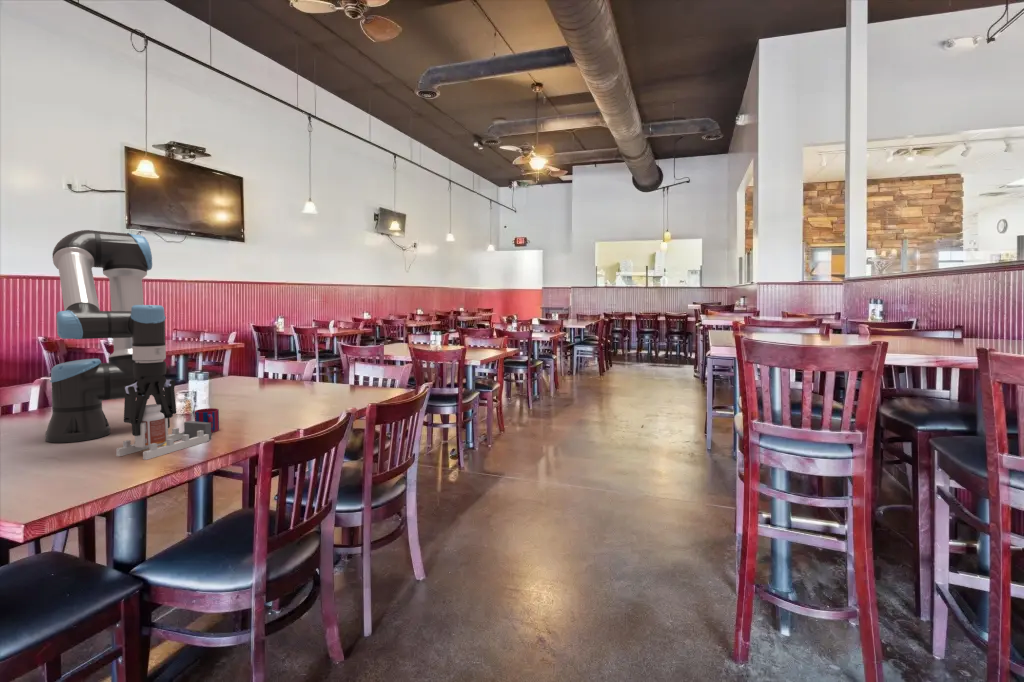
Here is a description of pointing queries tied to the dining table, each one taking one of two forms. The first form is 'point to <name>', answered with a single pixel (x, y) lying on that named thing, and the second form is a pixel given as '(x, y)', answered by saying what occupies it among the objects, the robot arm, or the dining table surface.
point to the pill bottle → (154, 425)
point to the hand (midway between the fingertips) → (152, 443)
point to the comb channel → (172, 440)
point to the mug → (208, 417)
